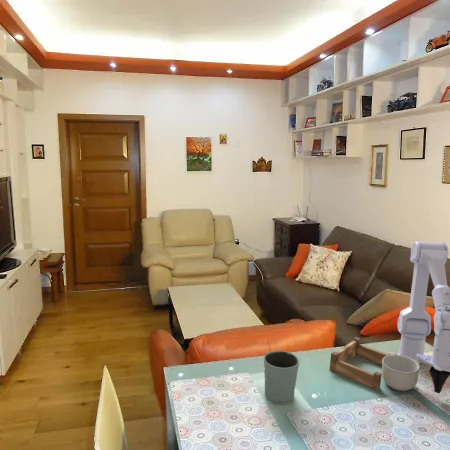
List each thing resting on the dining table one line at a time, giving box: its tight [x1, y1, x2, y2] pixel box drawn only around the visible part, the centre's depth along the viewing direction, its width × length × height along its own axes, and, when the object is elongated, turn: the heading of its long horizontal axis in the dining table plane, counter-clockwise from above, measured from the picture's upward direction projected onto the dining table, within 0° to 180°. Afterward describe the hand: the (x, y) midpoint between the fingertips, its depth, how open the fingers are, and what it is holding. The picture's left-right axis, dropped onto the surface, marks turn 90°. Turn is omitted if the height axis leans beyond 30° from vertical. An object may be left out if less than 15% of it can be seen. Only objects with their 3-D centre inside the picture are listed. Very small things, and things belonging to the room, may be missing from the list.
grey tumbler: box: [263, 350, 300, 405], centre depth 126 cm, size 10×10×12 cm
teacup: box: [381, 351, 421, 392], centre depth 136 cm, size 14×11×8 cm
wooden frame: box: [329, 336, 398, 391], centre depth 143 cm, size 18×16×6 cm
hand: (437, 391), depth 128 cm, fingers closed
